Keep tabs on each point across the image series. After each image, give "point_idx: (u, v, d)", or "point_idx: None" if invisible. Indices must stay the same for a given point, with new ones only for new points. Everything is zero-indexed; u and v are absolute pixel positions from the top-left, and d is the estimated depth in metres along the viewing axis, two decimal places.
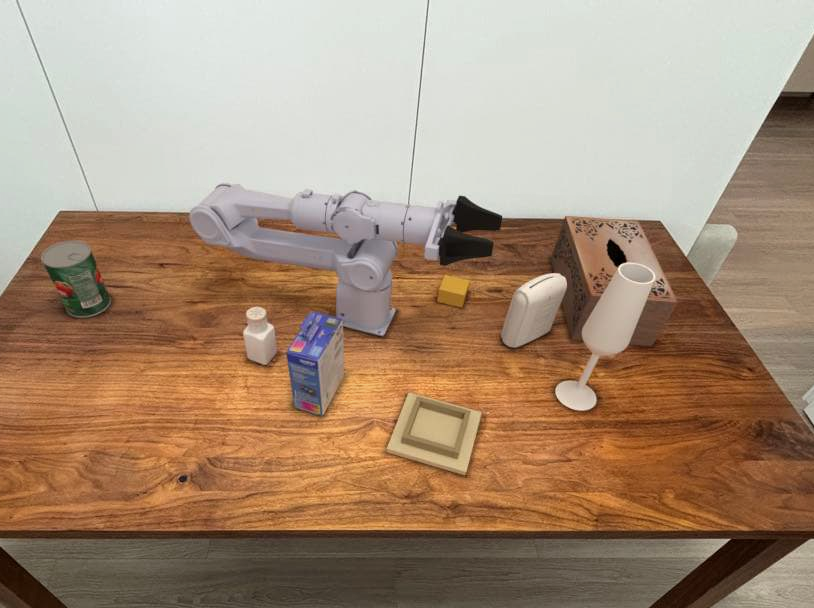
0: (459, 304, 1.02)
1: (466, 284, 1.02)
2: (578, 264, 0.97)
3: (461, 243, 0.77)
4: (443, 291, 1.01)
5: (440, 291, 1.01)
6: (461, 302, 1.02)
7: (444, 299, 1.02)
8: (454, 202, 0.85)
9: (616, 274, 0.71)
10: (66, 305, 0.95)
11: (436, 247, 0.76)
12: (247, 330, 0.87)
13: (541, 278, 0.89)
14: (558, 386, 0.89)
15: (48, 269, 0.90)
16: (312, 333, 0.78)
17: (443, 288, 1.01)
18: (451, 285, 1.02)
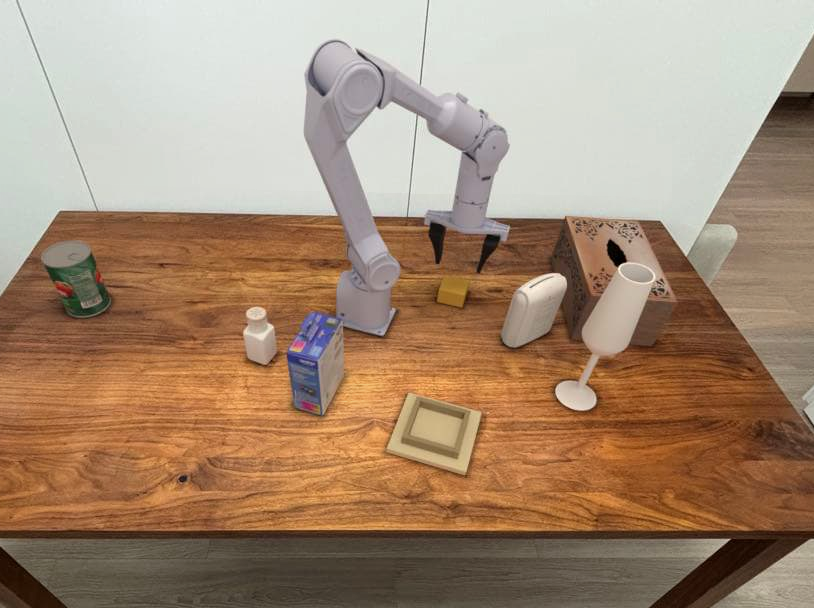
0: (459, 304, 1.02)
1: (466, 284, 1.02)
2: (578, 264, 0.97)
3: None
4: (443, 291, 1.01)
5: (440, 291, 1.01)
6: (461, 302, 1.02)
7: (444, 299, 1.02)
8: None
9: (616, 274, 0.71)
10: (66, 305, 0.95)
11: None
12: (247, 330, 0.87)
13: (541, 278, 0.89)
14: (558, 386, 0.89)
15: (48, 269, 0.90)
16: (312, 333, 0.78)
17: (443, 288, 1.01)
18: (451, 285, 1.02)
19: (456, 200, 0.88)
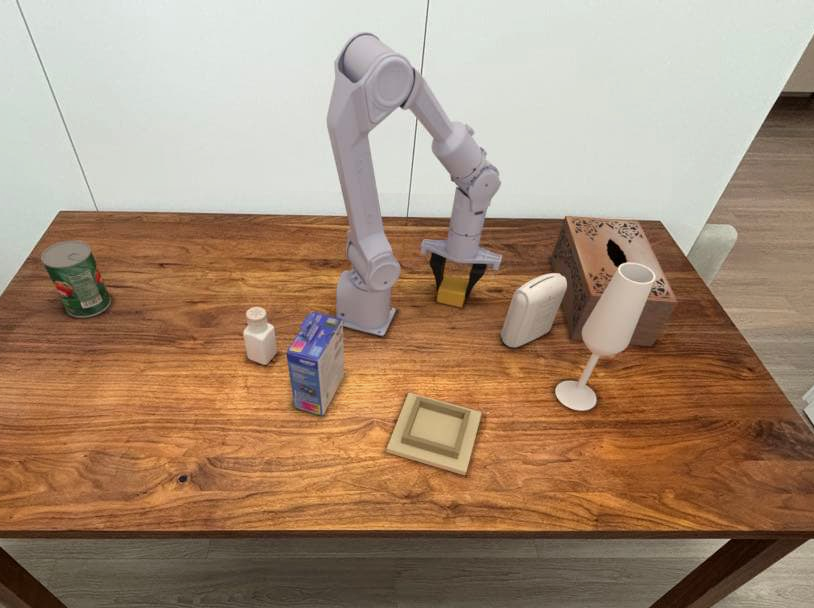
0: (459, 304, 1.02)
1: (466, 284, 1.02)
2: (578, 264, 0.97)
3: None
4: (442, 291, 1.01)
5: (440, 291, 1.01)
6: (461, 302, 1.02)
7: (444, 299, 1.02)
8: None
9: (616, 274, 0.71)
10: (66, 305, 0.95)
11: None
12: (247, 330, 0.87)
13: (541, 278, 0.89)
14: (558, 386, 0.89)
15: (48, 269, 0.90)
16: (312, 333, 0.78)
17: (443, 288, 1.01)
18: (450, 285, 1.02)
19: (450, 232, 0.93)
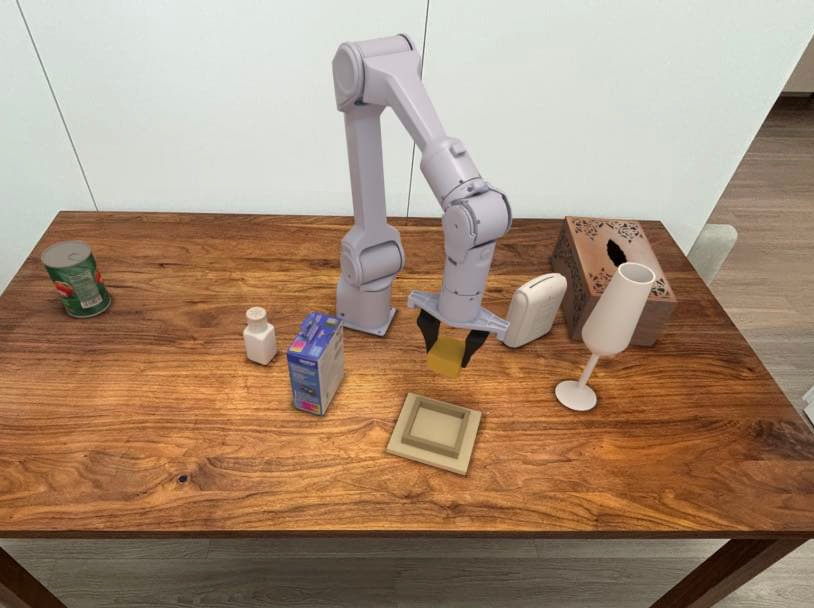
0: (452, 375, 0.80)
1: None
2: (578, 264, 0.97)
3: None
4: (432, 356, 0.79)
5: (429, 356, 0.79)
6: (455, 373, 0.79)
7: (434, 366, 0.80)
8: None
9: (616, 274, 0.71)
10: (66, 305, 0.95)
11: None
12: (247, 330, 0.87)
13: (541, 278, 0.89)
14: (558, 386, 0.89)
15: (48, 269, 0.90)
16: (312, 333, 0.78)
17: (434, 353, 0.79)
18: (444, 350, 0.80)
19: (442, 286, 0.71)
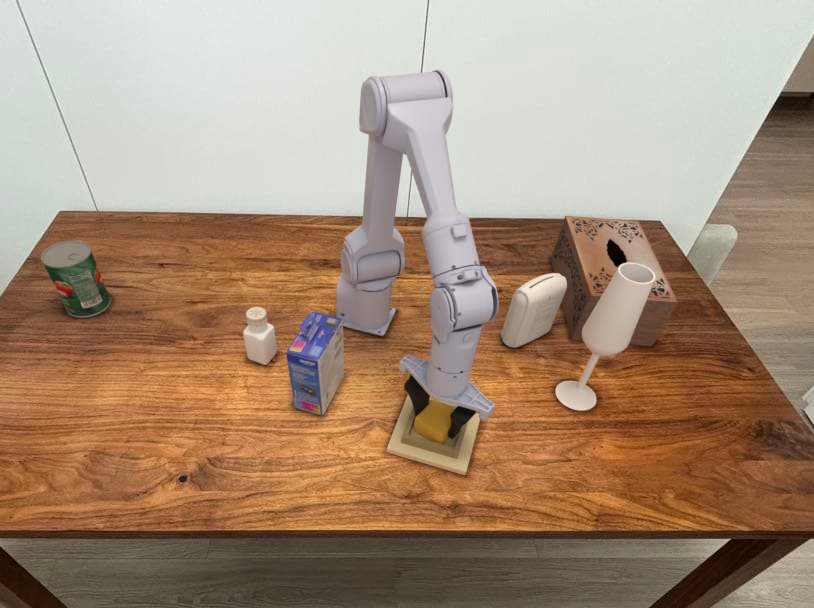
0: None
1: None
2: (578, 264, 0.97)
3: None
4: (419, 422, 0.79)
5: (416, 421, 0.79)
6: (439, 441, 0.78)
7: (421, 431, 0.80)
8: None
9: (616, 274, 0.71)
10: (66, 305, 0.95)
11: (491, 411, 0.72)
12: (247, 330, 0.87)
13: (541, 278, 0.89)
14: (558, 386, 0.89)
15: (48, 269, 0.90)
16: (312, 333, 0.78)
17: (421, 418, 0.79)
18: (433, 417, 0.79)
19: (429, 359, 0.70)
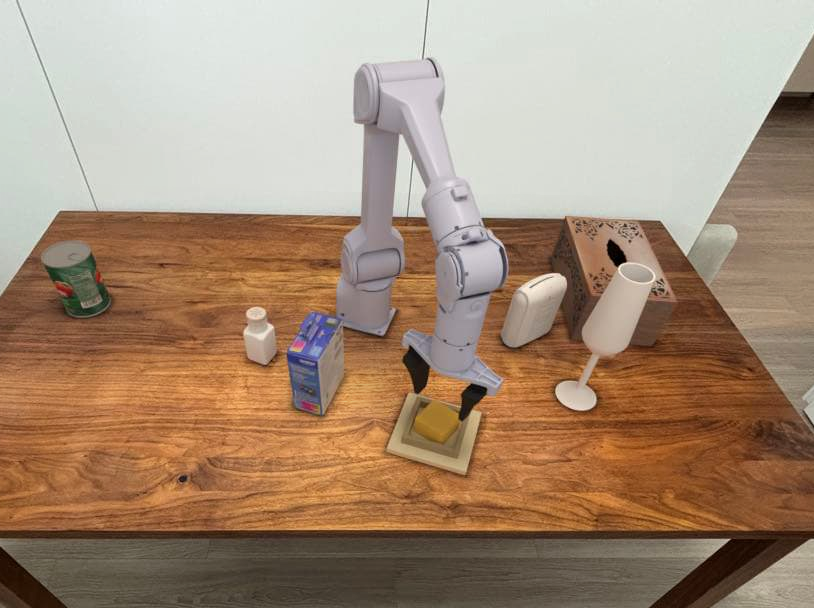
0: None
1: (453, 420, 0.79)
2: (578, 264, 0.97)
3: None
4: (419, 422, 0.79)
5: (416, 420, 0.79)
6: (439, 441, 0.78)
7: (421, 431, 0.80)
8: None
9: (616, 274, 0.71)
10: (66, 305, 0.95)
11: None
12: (247, 330, 0.87)
13: (541, 278, 0.89)
14: (558, 386, 0.89)
15: (48, 269, 0.90)
16: (312, 333, 0.78)
17: (421, 418, 0.79)
18: (433, 417, 0.79)
19: (434, 332, 0.67)
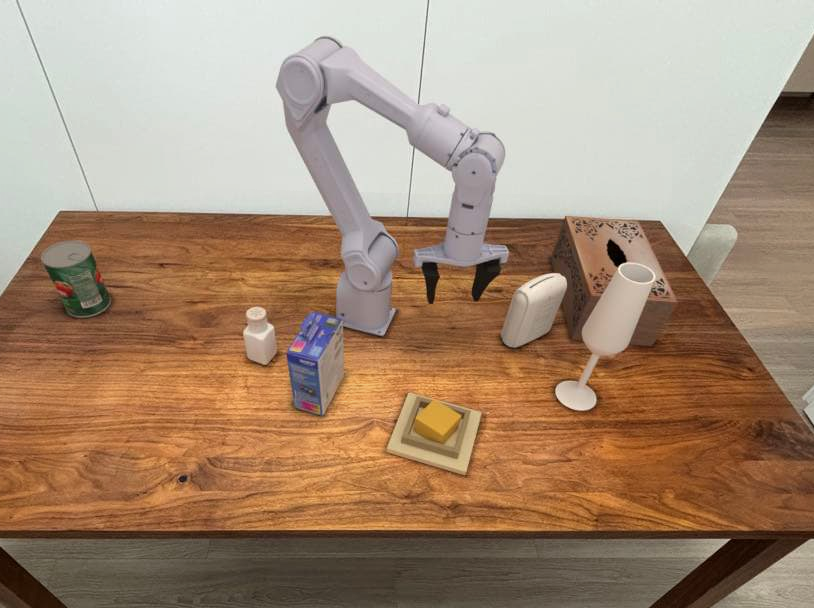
0: None
1: (453, 420, 0.79)
2: (578, 264, 0.97)
3: None
4: (419, 422, 0.79)
5: (416, 420, 0.79)
6: (439, 441, 0.78)
7: (421, 431, 0.80)
8: None
9: (616, 274, 0.71)
10: (66, 305, 0.95)
11: None
12: (247, 330, 0.87)
13: (541, 278, 0.89)
14: (558, 386, 0.89)
15: (48, 269, 0.90)
16: (312, 333, 0.78)
17: (421, 418, 0.79)
18: (433, 417, 0.79)
19: (455, 234, 0.78)
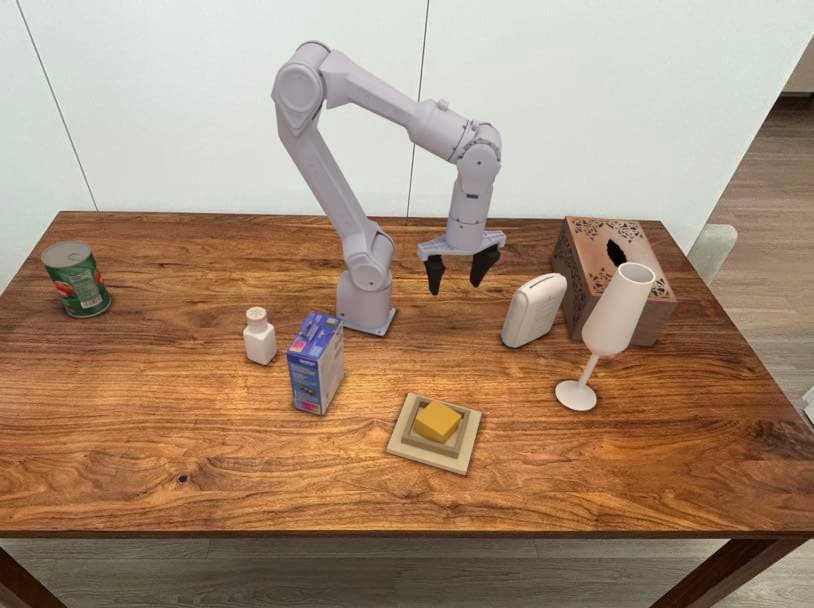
0: None
1: (453, 420, 0.79)
2: (578, 264, 0.97)
3: None
4: (419, 422, 0.79)
5: (416, 420, 0.79)
6: (439, 441, 0.78)
7: (421, 431, 0.80)
8: None
9: (616, 274, 0.71)
10: (66, 305, 0.95)
11: None
12: (247, 330, 0.87)
13: (541, 278, 0.89)
14: (558, 386, 0.89)
15: (48, 269, 0.90)
16: (312, 333, 0.78)
17: (421, 418, 0.79)
18: (433, 417, 0.79)
19: (459, 224, 0.79)
